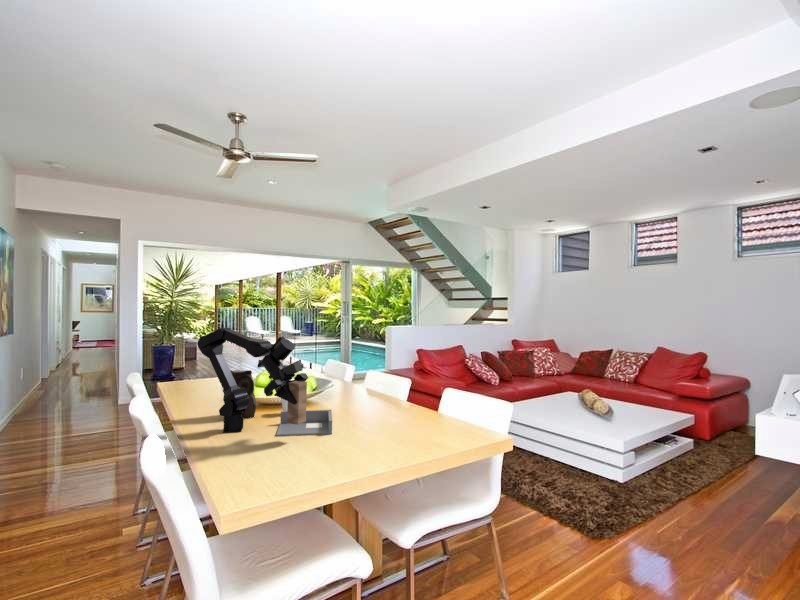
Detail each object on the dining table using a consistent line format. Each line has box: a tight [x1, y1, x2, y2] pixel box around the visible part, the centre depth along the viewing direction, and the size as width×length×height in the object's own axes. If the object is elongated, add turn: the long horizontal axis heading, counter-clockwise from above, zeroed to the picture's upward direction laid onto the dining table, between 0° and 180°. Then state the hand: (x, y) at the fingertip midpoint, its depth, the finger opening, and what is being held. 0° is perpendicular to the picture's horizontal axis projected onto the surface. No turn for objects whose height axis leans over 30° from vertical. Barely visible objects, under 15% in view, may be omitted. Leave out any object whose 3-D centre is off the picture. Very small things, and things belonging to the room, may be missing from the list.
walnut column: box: [287, 381, 308, 425], centre depth 149 cm, size 5×5×14 cm
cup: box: [280, 398, 288, 411], centre depth 185 cm, size 7×10×8 cm
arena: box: [275, 409, 333, 437], centre depth 163 cm, size 20×17×5 cm
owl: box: [222, 369, 257, 419], centre depth 180 cm, size 13×13×20 cm
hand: (300, 402), depth 148 cm, fingers closed on walnut column, 5 cm apart
